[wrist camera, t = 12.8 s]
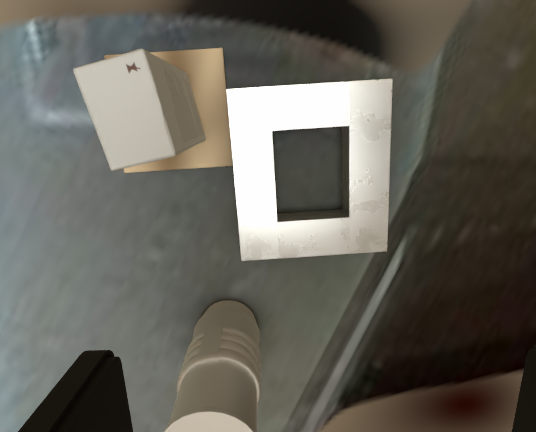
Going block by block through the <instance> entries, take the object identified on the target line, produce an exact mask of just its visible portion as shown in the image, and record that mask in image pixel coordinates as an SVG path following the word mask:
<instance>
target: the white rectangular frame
mask: <svg viewBox="0 0 536 432" xmlns="http://www.w3.org/2000/svg"><path fill="white" fill-rule="evenodd" d="M226 90H227V102H228V113H229V124H230V136H231V147H232V158H233V170H234V181H235V192H236V203H237V215H238V226H239V237H240V249H241V260H242V261H247V260H262V259H277V258H292V257H307V256H323V255H338V254H353V253H368V252H383V251H387V238H388V206H389V173H390V141H391V109H392V79H379V80H363V81H348V82H332V83H316V84H301V85H285V86H269V87H254V88H238V89H226ZM339 126H342V209H336V210H320V211H305V212H290V213H277V208H276V191H275V174H274V156H273V139H272V131H277V130H292V129H308V128H323V127H339Z"/></svg>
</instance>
